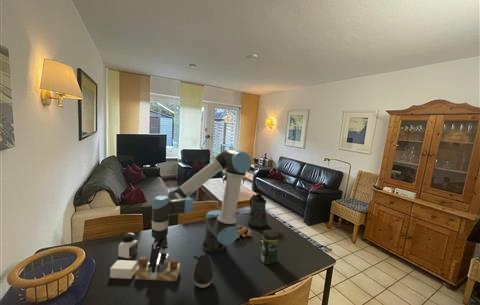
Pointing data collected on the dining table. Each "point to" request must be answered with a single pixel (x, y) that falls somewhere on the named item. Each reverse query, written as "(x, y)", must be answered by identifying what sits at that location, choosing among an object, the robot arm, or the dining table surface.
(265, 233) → the coffee jar
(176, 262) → the cream wooden plank
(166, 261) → the lever cap
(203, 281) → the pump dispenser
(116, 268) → the block
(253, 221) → the beer stein
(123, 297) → the dining table surface
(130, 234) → the medicine bottle
